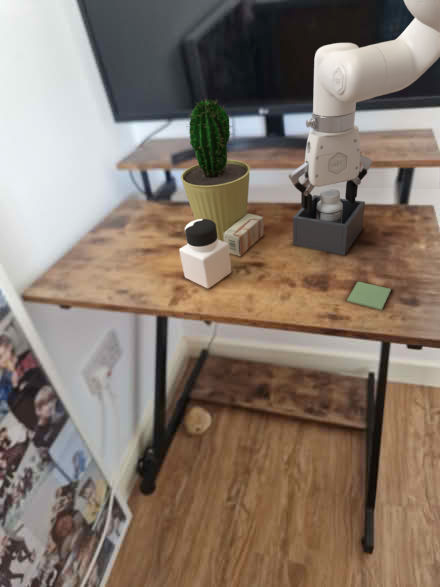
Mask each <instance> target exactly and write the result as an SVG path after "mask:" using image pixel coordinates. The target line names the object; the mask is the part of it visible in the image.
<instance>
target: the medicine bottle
mask: <svg viewBox="0 0 440 587" xmlns="http://www.w3.org/2000/svg"><path fill="white" fill-rule="evenodd" d="M184 234H185V240H186V243H187V244H185V245H183V246H182V247H180V248H179V250H178V252H179V258H180V261H181V266H182V270H183V275H184V278H185V279H187V280H189V281H191V282H193V283H195V284H197V285H199V286H200V287H201V286H202V287H204V288H205V289H211V288H212V287H214V286H215V285H216V284H217V283H219V282H221V280H223V279H224V278H226V277H227V276H228V275H230V274H231V273H232V264H231V258H230V257H231V256H230V253H229V247H228V243H226V242H223V241H220V240H218V236H217V229H216V224H215V223H214V222H213V221H212V220H209V219H198V220H195V219H194V220H192V221H190V222H188V223H187V224H186V226H185V227H184Z"/></svg>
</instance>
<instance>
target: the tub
mask: <svg viewBox="0 0 440 587" xmlns="http://www.w3.org/2000/svg"><path fill="white" fill-rule="evenodd" d="M339 200H340V201H341V202H342V204H343V209H342V223H336V222H329V221H323V220H317V219H316V207H317V203H318V202H319V201H320V195H317V194H313V195H312V212H311V213H308V212H307V211H306V210H305V209H304V208H302V207H301V208H300V209H299V210H298V211H297V213H296V214H294V216H293V217H292V246H296V247H297V246H298V247H302V248H307V249H312V250H317V251H321V252H326V253H332V254H337V255H342V256H346V255H347V253H348V251H349V250H350V248H351V247H352V245H354V243H355V241H356V239H357V238H358V236H359V235H360V233H361V232H362V230H363V226H364V215H365V204H366V201H364V200H356V199H355V203H354V204H352V203H350V202H349V201H348V200H347V199H346V198H341V197H340V199H339Z"/></svg>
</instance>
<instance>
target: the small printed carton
mask: <svg viewBox="0 0 440 587" xmlns="http://www.w3.org/2000/svg"><path fill="white" fill-rule="evenodd" d="M264 230H265V229H264V216H261V215H257V214H252V213H248V212H247V214H246V215H245V216H244V217H243V218H241V219H240V220H239V221H238V222H237V223H235V224H234V225H233V226H232V227H230V228H229V229H228V230H227V231H225V232H224V233H223V234H224V242H226V243H228V247H229V255H230V254H231V255H234V256H238V257H242V256H243V254H245V253H246V252H247V251H248V250H249V249H250V248H252V246H254V245H255V244H256V242H258V241H259V240H260V239H261V238H262V237H263V236H264Z"/></svg>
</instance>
